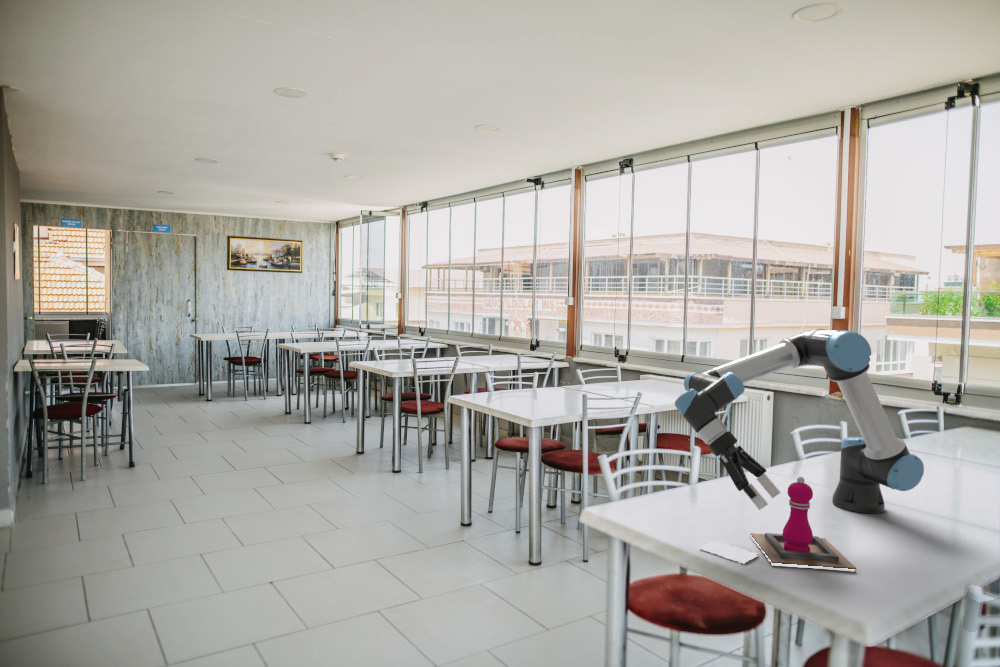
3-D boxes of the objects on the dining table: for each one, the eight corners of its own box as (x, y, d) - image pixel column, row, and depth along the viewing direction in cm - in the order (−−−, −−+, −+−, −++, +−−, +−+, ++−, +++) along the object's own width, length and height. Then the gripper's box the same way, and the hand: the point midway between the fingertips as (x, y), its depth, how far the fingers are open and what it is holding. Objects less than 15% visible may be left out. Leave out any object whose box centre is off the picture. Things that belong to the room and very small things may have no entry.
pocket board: (824, 542, 179) (825, 533, 179) (855, 572, 160) (856, 562, 159) (750, 537, 182) (751, 528, 182) (772, 566, 162) (772, 556, 162)
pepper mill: (777, 551, 169) (781, 476, 168) (787, 544, 174) (792, 471, 173) (805, 559, 164) (810, 482, 162) (816, 552, 169) (820, 477, 168)
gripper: (721, 438, 194) (771, 498, 186) (692, 453, 174) (746, 520, 166) (740, 423, 191) (792, 483, 183) (713, 436, 171) (769, 504, 163)
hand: (770, 501), depth 174 cm, fingers open, 13 cm apart
